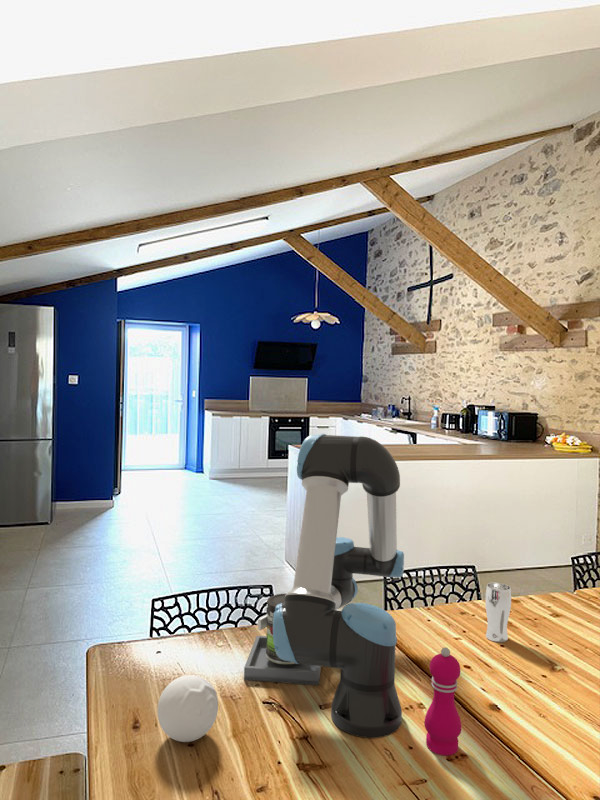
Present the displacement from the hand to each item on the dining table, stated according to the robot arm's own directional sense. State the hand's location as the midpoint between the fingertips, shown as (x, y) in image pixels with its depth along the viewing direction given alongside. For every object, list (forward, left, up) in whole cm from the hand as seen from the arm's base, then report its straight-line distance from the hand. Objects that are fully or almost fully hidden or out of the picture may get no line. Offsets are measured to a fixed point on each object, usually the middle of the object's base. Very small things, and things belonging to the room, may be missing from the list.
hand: (277, 629), depth 148 cm
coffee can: (+4, -2, -8) cm, 9 cm away
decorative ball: (-29, +14, -11) cm, 34 cm away
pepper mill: (-25, -37, -11) cm, 46 cm away
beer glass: (+29, -60, -11) cm, 67 cm away
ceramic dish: (+4, -2, -10) cm, 11 cm away
